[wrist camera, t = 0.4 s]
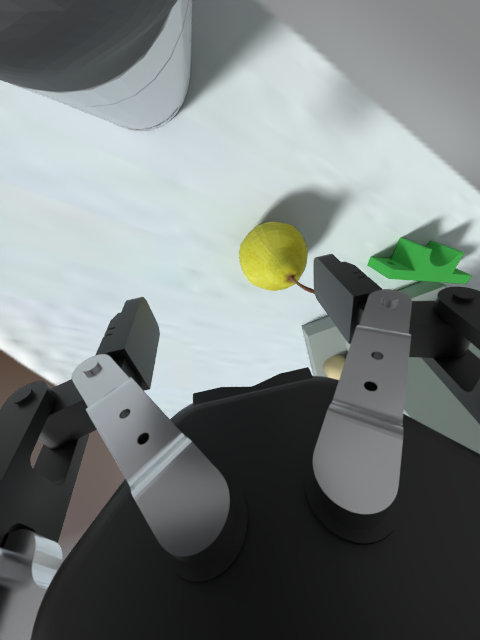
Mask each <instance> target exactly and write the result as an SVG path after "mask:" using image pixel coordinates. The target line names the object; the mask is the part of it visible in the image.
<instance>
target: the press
mask: <svg viewBox="0 0 480 640" xmlns="http://www.w3.org/2000/svg"><path fill="white" fill-rule="evenodd" d="M444 288H446V286H445V285H443V284H441V283H439V282H430V281H422V282H420V283H417V284H414V285H411V286H409V287H406V288H403V289H401V290H398V291H400V292H403V293H405V294H407V295H408V296H409V297H410V298H411V300H412V301H435V300H436V297H437V295H438V292H439V291H440V290H442V289H444ZM302 330H303V334H304V338H305V343H306V347H307V351H308V355H309V359H310V363H311V368H312V372H313V376H324V377H329V378H333V379H337V380H339V379H340V376H341V373H342V370H343V367H344V363H345V360H346V357H347V354H348V351H349V348H350V345H351V344H348V342H347V341H346V340H345V338H344V337H343V335H342V334H341V332H340V331H339V330H338V328H337V327H336V325H335V324H334V323H333V321H332V320H331V318H330V317H329V316H327V317H325V318H322V319H319V320H317V321H314V322H311V323H308V324H306V325H303V326H302ZM468 349H469V350H470V351H471V352H472V353H474V354H475V355H476V356H477V357H478V358H479V359H480V350H479V349H478V348H476V347H475V346H474V345H473V344H472V343H470V345H469V347H468ZM403 414H405V415H407V416H409V417H411V418H413V419H415V420H417V421H418V422H420V423H422V424H424V425H426V426H428V427H430V428H432V429H434V430H435V431H437V432H439V433H441V434H443V435H445V436H447V437H449V438H450V439H452V440H454V441H456V442H458V443H460V444H462V445H464V446H466V447H467V448H469V449H471V450H473V451H475V452H477V453H479V454H480V424H479V423H478V422H477V421H476V420H475V419H474V417H473V416H472V415H471V414H470V413H469V412H468V411H467V409H466V408H465V407H464V406H463V405H462V404H461V403H460V402H459V400H458V399H457V398H456V397H455V396H454V395H453V394H452V392H451V391H450V390H449V389H448V388H447V387H446V386H445V384H444V383H443V382H442V381H441V380H440V379H439V378H438V377H437V375H436V374H435V373H434V372H433V371H432V370H431V369H430V367H429V366H428V365H427V364H426V363H425V362H424V361H423V359H422V358H419V357H409V363H408V373H407V382H406V392H405V402H404V412H403Z"/></svg>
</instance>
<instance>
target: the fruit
mask: <svg viewBox="0 0 480 640" xmlns="http://www.w3.org/2000/svg"><path fill="white" fill-rule="evenodd" d="M239 259H240V264H241V268H242V270H243V273H244V275H245V276H246V278H247V279H248V280H249V282H251V283H252V284H253V285H255V286H257V287H260V288H263V289H266V290H271V291H277V290H283V289H286V288H288V287H290V286H292V285H294V284H295V283H296V284H297V285H298V286H300V287H301V288H303V289H304V290H306V291H308V292H311V293H314V294H315V292H314V290H313V289H311V288H308V287H306V286H303V285H302V284H300V283H299V282H298V280H299V278H300V277H301V275H302V274H303V272H304V270H305V267H306V263H307V246H306V243H305V241H304V238H303V237H302V235H301V233H300V232H299V231H298V230H297V229H296V228H295V227H293V226H291V225H289V224H285V223H280V222H266V223H263V224H260V225H259V226H257V227H255V228H254V229H253V230H252V231H251V232H250V233H249V234H248V235H247V236H246V238H245V239H244V241H243V242H242V244H241V246H240V251H239Z"/></svg>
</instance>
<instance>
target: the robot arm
mask: <svg viewBox="0 0 480 640" xmlns="http://www.w3.org/2000/svg"><path fill="white" fill-rule="evenodd" d="M191 36H192V0H0V80H2V81H5V82H8V83H10V84H13V85H16V86H18V87H21V88H23V89H26V90H29V91H31V92H34V93H36V94H39V95H42V96H45V97H47V98H50V99H52V100H55V101H58V102H60V103H63V104H65V105H68V106H70V107H73V108H75V109H78V110H81V111H83V112H86V113H88V114H91V115H93V116H96V117H98V118H101V119H104V120H106V121H109V122H111V123H114V124H116V125H119V126H121V127H124V128H128V129H132V130H151V129H155V128H159V127H161V126H162V125H164V124H166V123H167V122H169V121H170V120H171V119H172V118H173V117H174V116H175V115H176V114H177V112H178V111H179V109H180V107H181V106H182V104H183V102H184V100H185V97H186V94H187V91H188V87H189V80H190V71H191ZM314 292H315V296H316V298H317V300H318V301H319V303H320V304H321V306H322V307H323V308H324V310H325V311H326V313H327V314H328V316H329V317H330V318H331V320H332V321H333V323H334V324H335V325H336V327H337V328H338V330H339V331H340V332H341V334H342V335H343V337H344V338H345V340H346V341H347V342H348V344H351V345H350V348H349V351H348V354H347V357H346V360H345V363H344V367H343V370H342V373H341V376H340V379H339V380H337V379H333V378H329V377H324V376H312V374H311V372H310V370H309V368H308V367H307V368H303V369H298V370H294V371H290V372H285V373H281V374H278V375H276V376H274V377H272V378H270V379H268V380H266V381H263V382H261V383H259V384H257V385H255V386H252V387H220V388H216V389H211V390H207V391H203V392H198V393H194V394H193V403H192V404H190V405H189V406H187V407H185V408H184V409H182V410H181V411H179V412H178V413H177V414H176V415H175V416H173V417H172V418H171V419H169V418H168V417H167V416H166V415H165V414H164V413H163V412H162V411H161V409H160V408H159V407H158V406H157V405H156V404H155V403H154V402H153V401H152V400H151V398H150V397H149V396H148V395H147V394H146V393H145V392H144V390H148V389H150V387H151V381H152V375H153V370H154V364H155V358H156V353H157V347H158V341H159V336H160V332H159V327H158V324H157V321H156V319H155V317H154V315H153V313H152V311H151V309H150V307H149V305H148V303H147V301H146V299H145V298H144V297H140V298H136V299H131V300H127V301H126V302H125V305H124V307H123V310H122V312H121V313H118V314H117V315H116V316H115V317H114V318H113V319H112V320H111V321H110V324H109V326H108V328H107V330H106V333H105V337H103V339H102V342H101V344H100V346H99V348H98V351H97V353H96V355H95V356H93V357H90V358H88V359H87V360H85V361H84V362H82V363H81V364H80V365H79V366H78V367H77V368H76V369H75V370H74V372H73V374H72V379H71V380H69V381H67V382H65V383H62V384H60V385H58V386H56V387H54V388H50V387H49V386H48V385H47V384H46V383H45V382H43V381H37V382H33V383H30V384H28V385H26V386H24V387H22V388H20V389H19V390H17V391H16V392H15V393H14V394H12V395H11V396H10V397H9V398H8V399H7V401H6V402H5V403H4V405H3V406H2V408H1V410H0V640H480V454H479V453H477V452H475V451H473V450H471V449H469V448H467V447H466V446H464V445H462V444H460V443H458V442H456V441H454V440H452V439H450V438H449V437H447V436H445V435H443V434H441V433H439V432H437V431H435V430H434V429H432V428H430V427H428V426H426V425H424V424H422V423H420V422H418V421H417V420H415V419H413V418H411V417H409V416H407V415H405V414H403V412H404V402H405V392H406V382H407V373H408V363H409V357H419V358H422V359H423V361H424V362H425V363H426V364H427V365H428V366H429V367H430V369H431V370H432V371H433V372H434V373H435V374H436V375H437V377H438V378H439V379H440V380H441V381H442V382H443V383H444V384H445V386H446V387H447V388H448V389H449V390H450V391H451V392H452V394H453V395H454V396H455V397H456V398H457V399H458V400H459V402H460V403H461V404H462V405H463V406H464V407H465V408H466V409H467V411H468V412H469V413H470V414H471V415H472V416H473V417H474V419H475V420H476V421H477V422H478V423H479V424H480V359H479V358H478V357H477V356H476V355H475V354H474V353H472V352H471V351H470V350H469V349H468V347H469V345H470V343H472V344H473V345H474V346H475V347H476V348H478V349H479V350H480V291H477V290H474V289H470V288H465V287H448V288H444V289H442V290H440V291H439V292H438V295H437V297H436V300H435V301H412V300H411V298H410V297H409V296H408V295H407V294H405V293H403V292H400V291H396V290H389V289H384V290H383V289H382V288H381V287H379V286H378V285H377V284H376V283H375V282H374V281H372V280H371V279H370V278H369V277H367V276H366V275H365V274H364V273H363V272H361V270H360V269H359V268H357V267H356V266H355V265H353V264H350V263H347V262H340V261H339V260H338V259H337V258H336V257H335V256H334V255H333V254H328V255H324V256H320V257H316V258H315V259H314ZM96 429H97V430H98V432H99V434H100V435H101V437H102V439H103V440H104V442H105V444H106V446H107V447H108V449H109V451H110V453H111V454H112V456H113V458H114V460H115V461H116V463H117V465H118V466H119V468H120V470H121V472H122V473H123V475H124V477H125V480H124V481H123V482H122V484H121V485H120V486H119V488H118V489H117V490H116V492H115V493H114V494H113V496H112V497H111V499H110V500H109V501H108V503H107V504H106V505H105V506H104V508H103V509H102V510H101V512H100V513H99V515H98V516H97V517H96V518H95V520H94V521H93V523H92V524H91V525H90V527H89V528H88V529H87V531H86V532H85V533H84V534H83V536H82V538H81V539H80V540H79V541H78V543H77V544H76V546H75V547H74V548H73V549H72V551H71V552H70V553H69V555H68V556H67V558H66V559H65V560H64V561H63V563H62V550H61V547H60V546H59V544H58V540H59V537H60V533H61V530H62V526H63V522H64V519H65V516H66V512H67V509H68V506H69V502H70V499H71V495H72V492H73V488H74V485H75V482H76V478H77V475H78V471H79V468H80V464H81V461H82V457H83V454H84V450H85V447H86V444H87V440H88V437H89V433H91V432H93V431H95V430H96ZM37 440H39V441H40V442H42V443H43V444H44V445H43V447H42V450H41V452H40V454H39V456H38V459H37V461H36V464H35V466H34V468H33V469H32V467H31V463H30V456H31V453H32V451H33V449H34V447H35V444H36V442H37ZM61 563H62V564H61Z"/></svg>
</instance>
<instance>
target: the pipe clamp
mask: <svg viewBox="0 0 480 640" xmlns="http://www.w3.org/2000/svg"><path fill="white" fill-rule="evenodd" d="M464 253H465V252H462V251H459V250H456V249H454V248H451V247H448V246H445V245H443V244H440V243H437V242H433V241H430V242H429V244H428V245H427V246H426V247H425V246H423V245H420V244H418V243H415V242H413V241H410V240H408V239H405V238H400V239H399V242H398V244H397V246H396V248H395V251H394V253H393V255H392V257H391V258H380V257H370V260H369V262H368V266H369V267H371V268H373V269H374V270H376V271H377V272H379V273H381V274H382V275H384V276H385V277H387V278H388V279H401V280H416V281H430V282H445V283H460V284H467V282H468V281H469V279H470V278H471V276H472V275H470V274H467V273H465V272H463V271H460V270H458V269H456V266H457V265H458V263H459V261H460V260H461V258H462V256H463V255H464Z"/></svg>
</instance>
